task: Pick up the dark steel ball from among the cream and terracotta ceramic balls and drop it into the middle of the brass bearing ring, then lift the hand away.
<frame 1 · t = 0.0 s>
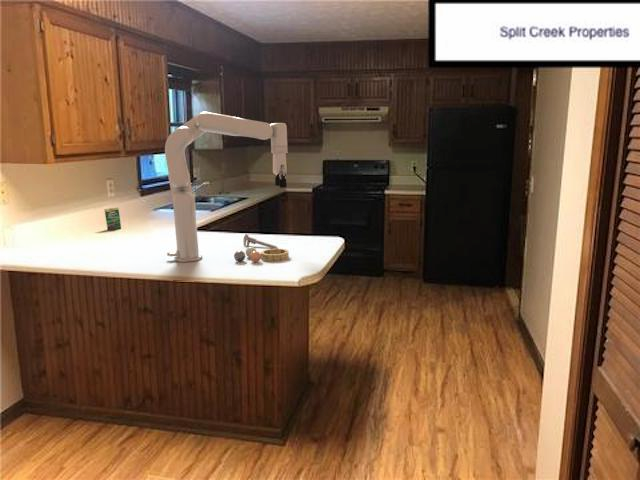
hand: (280, 186, 244), 31 cm above the countertop, tool pointing down, fingers open, 9 cm apart
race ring: (274, 258, 236), on the countertop
coffee box: (114, 229, 318), on the countertop
terracotta ball: (255, 256, 229), point 2 cm above the countertop
steel ball: (239, 256, 231), point 2 cm above the countertop
cream ball: (250, 252, 238), point 2 cm above the countertop
caliper: (260, 247, 260), on the countertop
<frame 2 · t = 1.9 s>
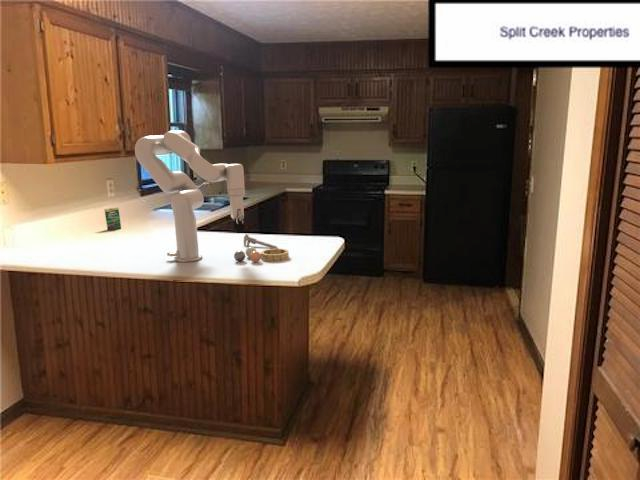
hand: (239, 230, 228), 14 cm above the countertop, tool pointing down, fingers open, 9 cm apart
nothing on the countertop moved.
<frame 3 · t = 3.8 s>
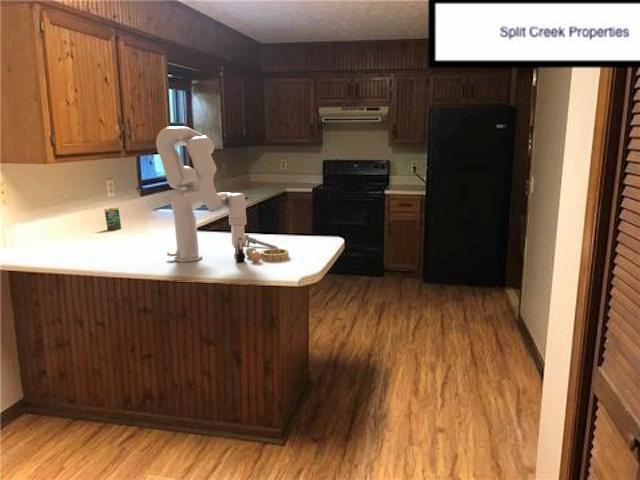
hand: (240, 260, 231), 0 cm above the countertop, tool pointing down, fingers closed on steel ball, 4 cm apart
steel ball: (239, 256, 231), point 2 cm above the countertop, touching gripper
everything else where it was.
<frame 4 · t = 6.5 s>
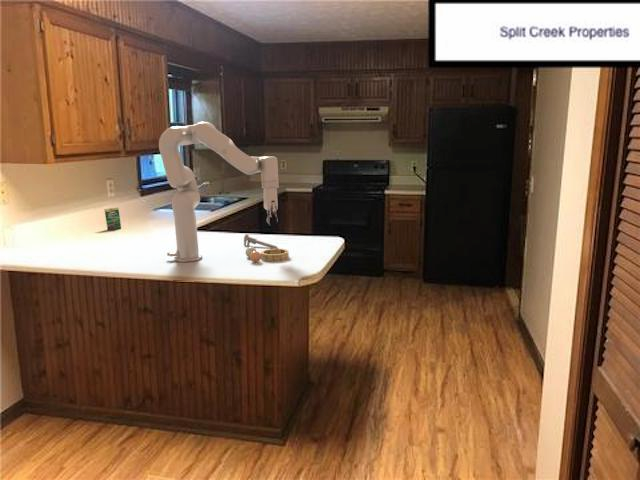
hand: (272, 224, 233), 16 cm above the countertop, tool pointing down, fingers closed on steel ball, 4 cm apart
steel ball: (272, 219, 232), point 18 cm above the countertop, touching gripper
everything else where it was.
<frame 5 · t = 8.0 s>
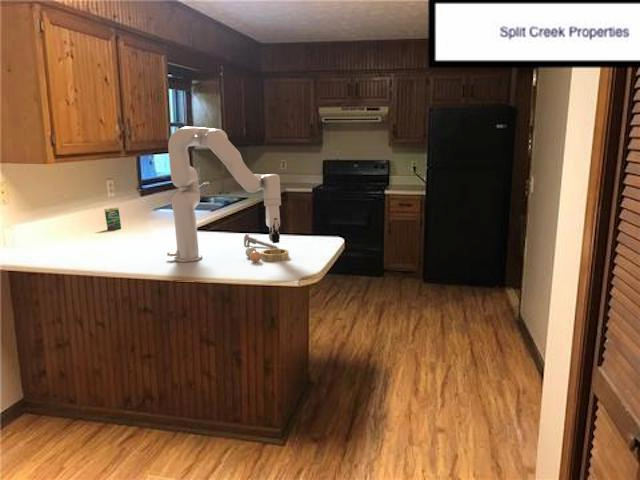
hand: (274, 241, 235), 8 cm above the countertop, tool pointing down, fingers closed on steel ball, 4 cm apart
steel ball: (274, 236, 234), point 10 cm above the countertop, touching gripper
everything else where it was.
when the fingers open (4 cm above the countertop, at t = 9.2 s): steel ball drops 3 cm, point 2 cm above the countertop.
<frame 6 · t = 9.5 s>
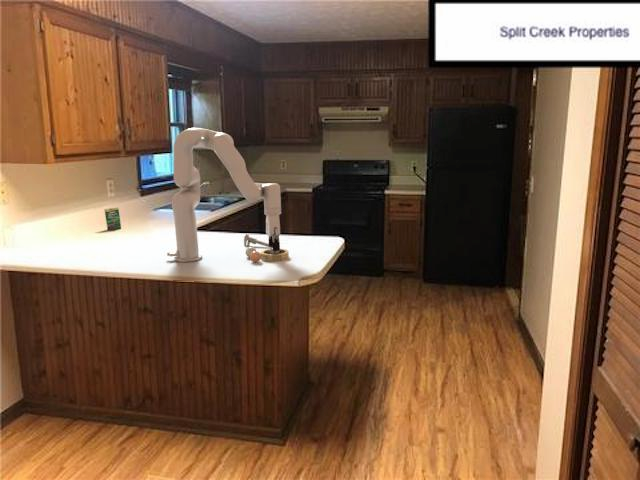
hand: (274, 248, 235), 5 cm above the countertop, tool pointing down, fingers open, 8 cm apart
steel ball: (274, 252, 236), point 2 cm above the countertop
everything else where it was.
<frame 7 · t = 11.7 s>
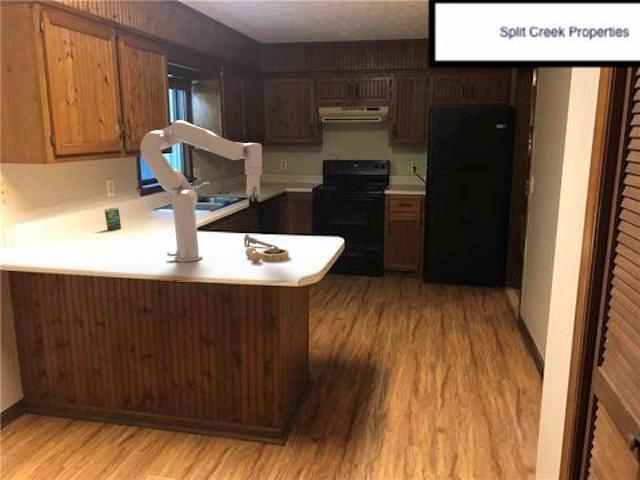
hand: (253, 208, 236), 23 cm above the countertop, tool pointing down, fingers open, 9 cm apart
steel ball: (274, 252, 237), point 2 cm above the countertop, tilted 31°
everything else where it was.
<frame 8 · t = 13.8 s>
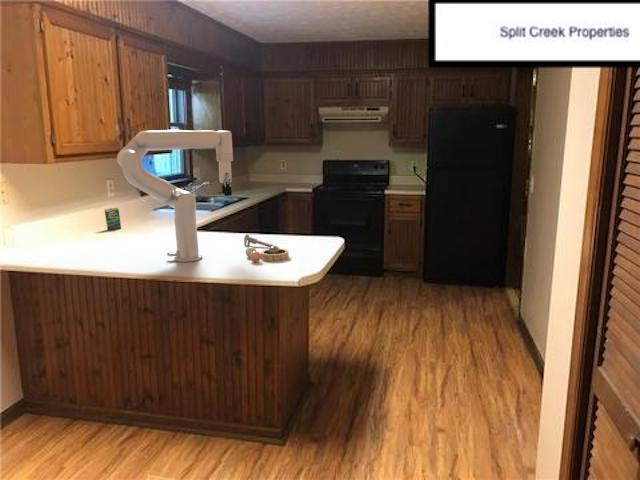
hand: (227, 194, 243), 28 cm above the countertop, tool pointing down, fingers open, 9 cm apart
steel ball: (273, 251, 238), point 2 cm above the countertop, tilted 56°
everything else where it was.
at the end: steel ball 2.4 cm off-centre on the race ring, point 2.5 cm above the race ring's base; cream ball moved 0.0 cm from its start; terracotta ball moved 0.0 cm from its start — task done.
